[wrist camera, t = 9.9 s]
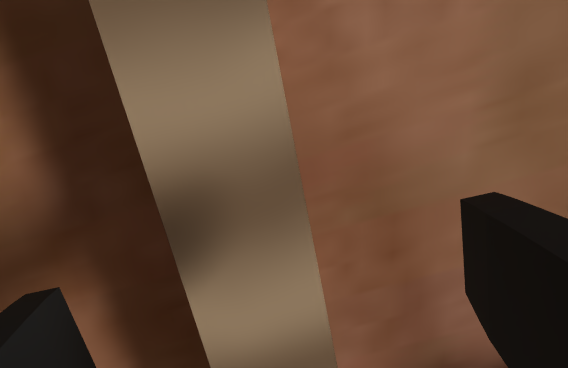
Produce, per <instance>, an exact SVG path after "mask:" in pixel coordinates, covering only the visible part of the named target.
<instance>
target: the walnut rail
mask: <svg viewBox="0 0 568 368" xmlns="http://www.w3.org/2000/svg"><path fill="white" fill-rule="evenodd" d="M89 3H90V6H91V9H92V12H93V15H94V18H95V21H96V24H97V27H98V30H99V33H100V36H101V39H102V42H103V45H104V48H105V51H106V54H107V57H108V60H109V63H110V66H111V69H112V72H113V75H114V78H115V81H116V84H117V87H118V90H119V93H120V96H121V99H122V102H123V105H124V108H125V111H126V114H127V117H128V120H129V123H130V126H131V129H132V132H133V135H134V138H135V141H136V144H137V147H138V150H139V153H140V156H141V159H142V162H143V165H144V168H145V171H146V174H147V177H148V180H149V183H150V186H151V189H152V192H153V195H154V198H155V202H156V205H157V208H158V211H159V214H160V217H161V220H162V223H163V226H164V229H165V232H166V235H167V238H168V241H169V244H170V247H171V250H172V253H173V256H174V259H175V262H176V265H177V268H178V271H179V274H180V277H181V280H182V283H183V286H184V289H185V292H186V295H187V298H188V301H189V304H190V307H191V310H192V313H193V316H194V319H195V322H196V325H197V328H198V331H199V334H200V337H201V340H202V343H203V346H204V349H205V352H206V355H207V358H208V361H209V364H210V367H211V368H337V362H336V357H335V352H334V347H333V342H332V337H331V331H330V326H329V321H328V316H327V311H326V306H325V300H324V295H323V290H322V285H321V280H320V275H319V269H318V264H317V259H316V254H315V249H314V243H313V238H312V233H311V228H310V223H309V218H308V212H307V207H306V202H305V197H304V192H303V187H302V181H301V176H300V171H299V166H298V161H297V156H296V150H295V145H294V140H293V135H292V130H291V124H290V119H289V114H288V109H287V104H286V99H285V93H284V88H283V83H282V78H281V73H280V68H279V62H278V57H277V52H276V47H275V42H274V36H273V31H272V26H271V21H270V16H269V11H268V5H267V0H89Z"/></svg>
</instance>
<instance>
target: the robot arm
mask: <svg viewBox="0 0 568 368" xmlns="http://www.w3.org/2000/svg"><path fill="white" fill-rule="evenodd" d="M460 203H461V221H462V239H463V257H464V275H465V293H466V295H467V297H468V299H469V301H470V303H471V305H472V307H473V309H474V311H475V313H476V315H477V317H478V319H479V321H480V323H481V325H482V326H483V328H484V330H485V332H486V334H487V336H488V338H489V340H490V341H491V343H492V344H493V346H494V347H495V349H496V350H497V352H498V353H499V355H500V356H501V358H502V359H503V361H504V362H505V364H506V365H507V366H508V368H568V219H567V218H564V217H562V216H559V215H557V214H554V213H551V212H549V211H546V210H544V209H541V208H539V207H536V206H533V205H531V204H528V203H526V202H523V201H520V200H518V199H515V198H512V197H509V196H506V195H503V194H500V193H496V192H492V193H487V194H483V195H478V196H474V197H469V198H465V199H460ZM0 368H96V366H95V364H94V362H93V360H92V357H91V355H90V353H89V351H88V349H87V347H86V344H85V342H84V340H83V338H82V336H81V334H80V331H79V329H78V327H77V325H76V323H75V321H74V318H73V316H72V314H71V312H70V310H69V308H68V305H67V303H66V301H65V299H64V297H63V295H62V292H61V290H60V288H59V287H57V288H53V289H48V290H44V291H39V292H35V293H30V294H25V295H24V296H22V297H21V298H19V299H18V300H17V301H15V302H14V303H13V304H11V305H10V306H9V307H7V308H6V309H5V310H4V311H2V312H1V313H0Z"/></svg>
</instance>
